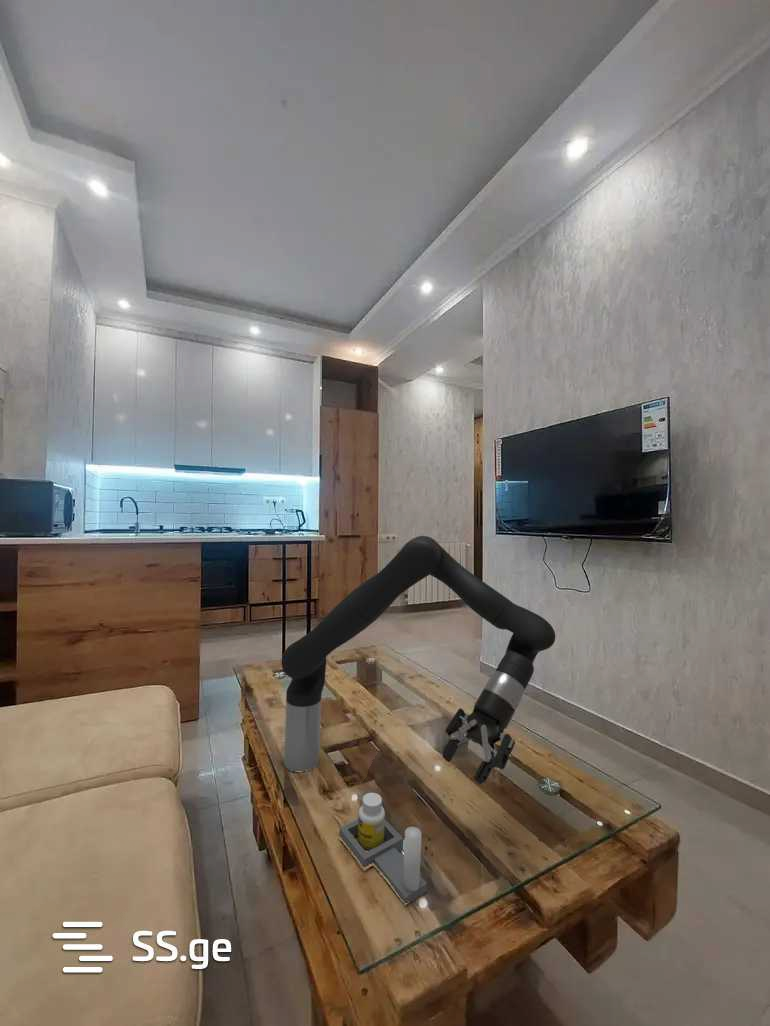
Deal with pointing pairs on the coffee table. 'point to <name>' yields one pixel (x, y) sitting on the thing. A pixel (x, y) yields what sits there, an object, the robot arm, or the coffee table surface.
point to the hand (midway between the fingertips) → (460, 770)
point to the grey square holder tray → (392, 858)
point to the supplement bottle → (371, 822)
